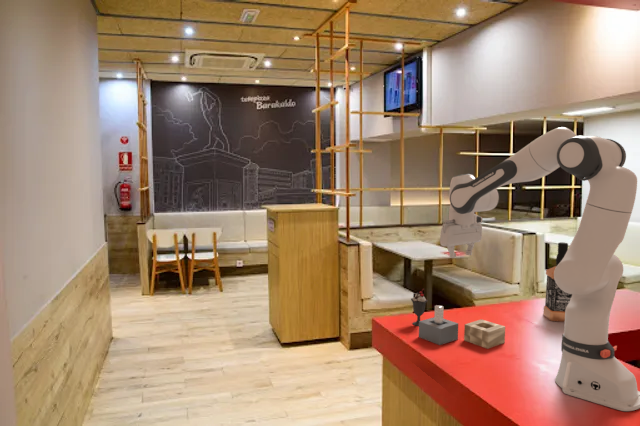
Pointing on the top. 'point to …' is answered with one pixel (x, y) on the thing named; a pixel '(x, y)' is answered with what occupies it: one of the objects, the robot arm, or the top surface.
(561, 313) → the whiskey bottle
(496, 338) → the mount block
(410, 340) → the top surface
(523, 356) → the top surface
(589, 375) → the robot arm
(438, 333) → the dock block
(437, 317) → the pin
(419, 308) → the sundae
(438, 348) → the top surface
